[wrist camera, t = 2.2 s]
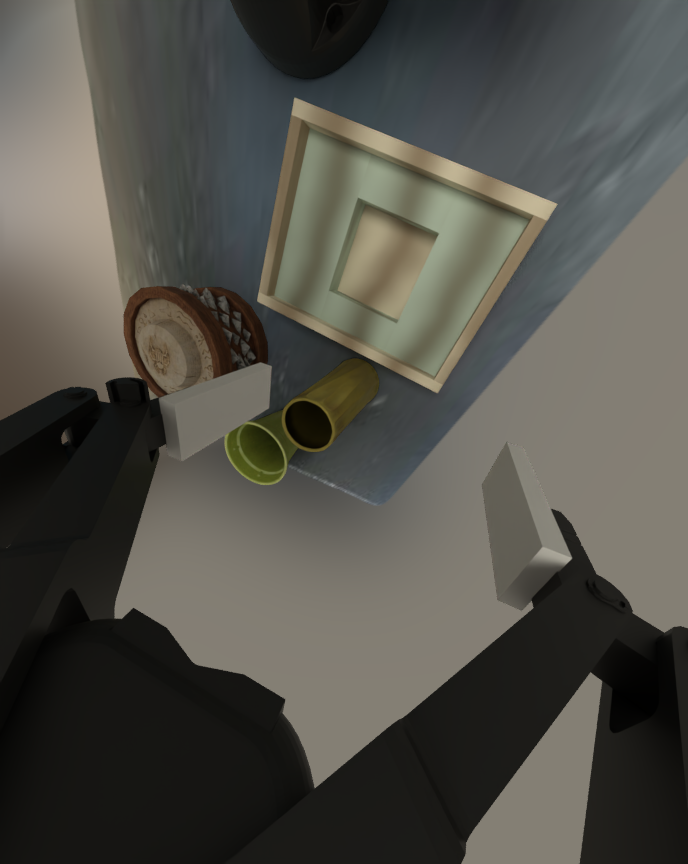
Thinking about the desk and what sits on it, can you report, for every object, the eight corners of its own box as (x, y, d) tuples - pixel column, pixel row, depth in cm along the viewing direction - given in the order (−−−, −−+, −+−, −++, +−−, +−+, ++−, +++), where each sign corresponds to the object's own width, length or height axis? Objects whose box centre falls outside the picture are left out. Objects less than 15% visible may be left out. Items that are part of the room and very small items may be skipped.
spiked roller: (215, 310, 26) (211, 437, 34) (277, 305, 36) (263, 406, 43) (97, 262, 29) (119, 391, 37) (184, 269, 38) (186, 371, 46)
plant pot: (256, 398, 43) (215, 420, 36) (310, 399, 40) (277, 423, 33) (269, 451, 47) (235, 480, 40) (319, 456, 44) (292, 489, 36)
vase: (359, 347, 34) (306, 378, 22) (389, 387, 35) (354, 437, 23) (326, 376, 37) (264, 417, 25) (354, 412, 38) (307, 467, 26)
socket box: (281, 300, 35) (257, 301, 31) (320, 128, 26) (294, 97, 22) (440, 380, 33) (437, 393, 28) (540, 219, 24) (557, 204, 20)
